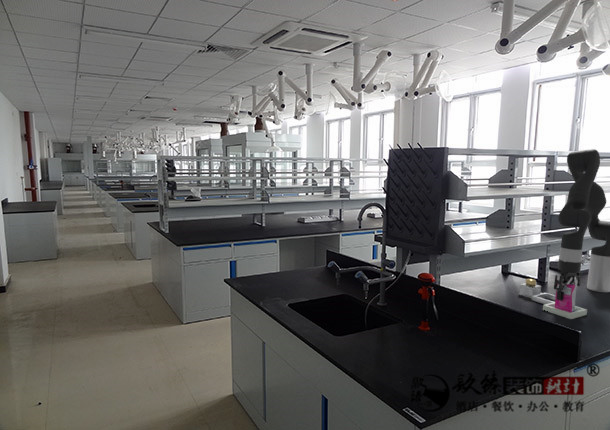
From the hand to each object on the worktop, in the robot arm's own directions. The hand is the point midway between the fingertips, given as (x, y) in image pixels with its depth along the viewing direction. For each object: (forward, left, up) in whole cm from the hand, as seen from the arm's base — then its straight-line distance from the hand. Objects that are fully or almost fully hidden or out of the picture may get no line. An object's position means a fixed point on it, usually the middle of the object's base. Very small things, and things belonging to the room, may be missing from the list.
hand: (565, 298), depth 161 cm
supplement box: (0, 0, -5) cm, 5 cm away
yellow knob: (-7, -19, -5) cm, 21 cm away
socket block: (-7, -13, -6) cm, 16 cm away
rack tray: (0, 0, -6) cm, 6 cm away
